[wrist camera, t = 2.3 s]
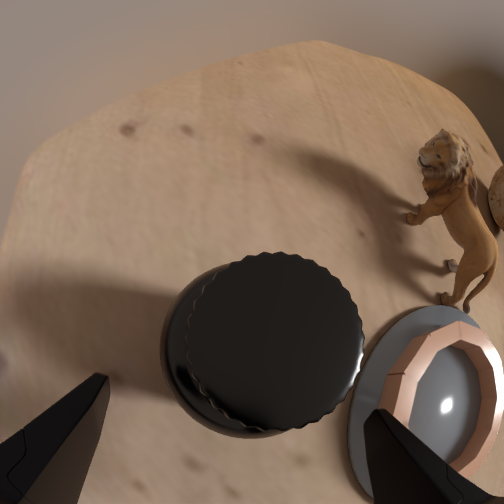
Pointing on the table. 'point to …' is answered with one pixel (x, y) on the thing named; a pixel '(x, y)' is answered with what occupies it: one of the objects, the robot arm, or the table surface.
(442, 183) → the lion figurine
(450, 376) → the ring tray
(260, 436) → the supplement bottle
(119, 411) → the table surface
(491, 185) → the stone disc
